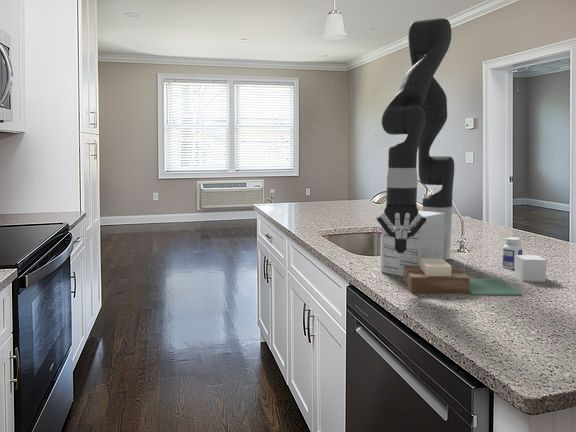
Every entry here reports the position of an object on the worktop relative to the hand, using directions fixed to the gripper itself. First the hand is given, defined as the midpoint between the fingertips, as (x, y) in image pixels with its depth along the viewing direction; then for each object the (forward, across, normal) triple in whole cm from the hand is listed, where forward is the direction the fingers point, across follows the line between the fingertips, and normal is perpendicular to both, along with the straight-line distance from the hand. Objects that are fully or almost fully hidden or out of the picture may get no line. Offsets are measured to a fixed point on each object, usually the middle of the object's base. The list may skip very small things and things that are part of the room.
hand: (400, 252), depth 128 cm
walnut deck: (+9, -9, 0) cm, 13 cm away
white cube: (+9, -37, -10) cm, 40 cm away
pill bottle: (+9, -37, -23) cm, 45 cm away
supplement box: (+9, -6, -16) cm, 20 cm away
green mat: (+9, -23, 0) cm, 24 cm away
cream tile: (+5, -9, 0) cm, 10 cm away
